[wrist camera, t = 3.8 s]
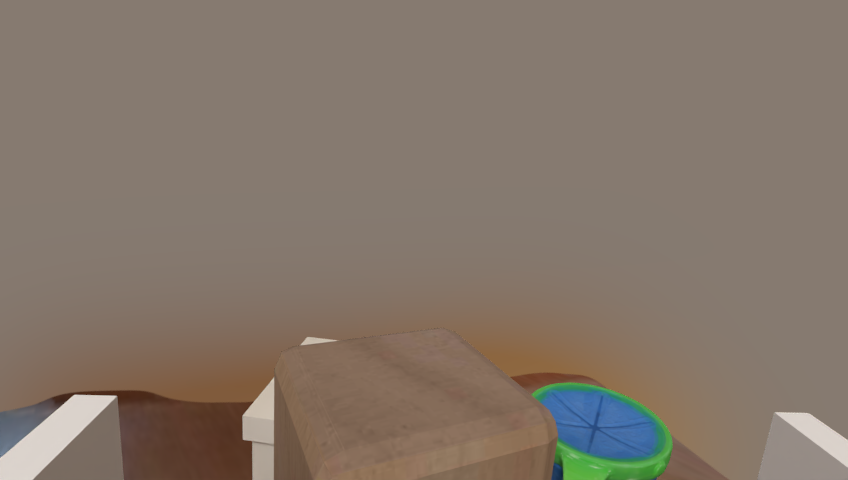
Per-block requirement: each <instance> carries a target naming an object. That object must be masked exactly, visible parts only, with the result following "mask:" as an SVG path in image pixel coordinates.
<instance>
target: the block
mask: <svg viewBox="0 0 848 480" xmlns="http://www.w3.org/2000/svg"><path fill="white" fill-rule="evenodd" d="M557 440H558V431H557V426H556V421H555V419H554V418H553V416H552V414H551V412H550V410H549V409H547V408H546V407H545V406H544V405H543V404H541V403H540V402H539V401H538V400H537V399H535V398H534V397H533V396H532V395H531V394H529V393H528V392H527V391H526V390H525V389H523V388H522V387H521V386H520V385H519V384H517V383H516V382H515V381H514V380H513V379H511V378H510V377H509V376H508V375H506V374H505V373H504V372H503V371H502V370H500V369H499V368H498V367H497V366H496V365H495V364H493V363H492V362H491V361H490V360H489V359H487V358H486V357H485V356H484V355H483V354H481V353H480V352H479V351H478V350H477V349H475V348H474V347H473V346H472V345H470V344H469V343H468V342H467V341H466V340H464V339H463V338H462V337H461V336H460V335H458V334H457V333H456V332H454V331H451V330H448V329H445V328H437V329H428V330H420V331H412V332H405V333H396V334H388V335H380V336H372V337H364V338H356V339H348V340H341V341H332V342H324V343H316V344H308V345H300V346H294V347H291V348H288V349H286V350H284V351H282V352H281V355H280V358H279V360H278V362H277V365H276V367H275V369H274V480H551V478H552V471H553V465H554V459H555V452H556V446H557Z"/></svg>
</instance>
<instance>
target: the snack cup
mask: <svg viewBox="0 0 848 480" xmlns="http://www.w3.org/2000/svg"><path fill="white" fill-rule="evenodd" d="M531 395H532V396H533V397H534V398H535V399H537V400H538V401H539V402H540V403H541V404H543V405H544V406H545V407H546V408H547V409H549V410H550V412H551V414H552V416H553V418H554V419H555V421H556V426H557V431H558V440H557V446H556V452H555V459H554V465H553V471H552V478H551V480H656V478H657V477H658V476H660V475H661V474H662V473H663V472H664V470H665V469H666V467H667V465H668V463H669V460H670V456H671V452H672V447H673V446H672V437H671V435H670V432H669V431H668V428H667V427H666V425H665V424H664V423H663V422H662V421H661V420H660V418H658V416H657V415H655V414H654V413H653V412H652V411H651V410H649V409H648V408H646V407H645V406H643V405H642V404H640V403H639V402H637V401H635V400H633V399H631V398H629V397H627V396H625V395H623V394H620V393H617V392H615V391H612V390H609V389H606V388H602V387H598V386H593V385H589V384H581V383H557V384H551V385H547V386H544V387H542V388H540V389H538V390H536V391H535V392H534V393H533V394H531Z"/></svg>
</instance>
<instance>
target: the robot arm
mask: <svg viewBox="0 0 848 480" xmlns="http://www.w3.org/2000/svg"><path fill="white" fill-rule="evenodd" d="M0 480H124V475H123V462H122V450H121V437H120V424H119V412H118V399H117V396H102V395H74V396H72V397H71V398H70V399H69V400H68V401H67V402H65V403H64V404H63V405H62V406H61V407H60V408H58V409H57V410H56V411H55V412H54V413H53V414H51V415H50V416H49V417H48V418H47V419H45V420H44V421H43V422H42V423H41V424H40V425H38V426H37V427H36V428H35V429H34V430H33V431H31V432H30V433H29V434H28V435H27V436H26V437H24V438H23V439H22V440H21V441H20V442H19V443H17V444H16V445H15V446H14V447H13V448H11V449H10V450H9V451H8V452H7V453H6V454H4V455H3V456H2V457H1V458H0ZM757 480H848V440H847V439H845V438H844V437H842V436H841V435H839V434H838V433H837V432H835V431H833V430H832V429H831V428H829V427H828V426H826V425H825V424H823V423H822V422H821V421H819V420H817V419H816V418H815V417H813V416H812V415H811V414H809V413H781V412H774V415H773V419H772V423H771V427H770V431H769V435H768V439H767V443H766V447H765V451H764V455H763V459H762V463H761V468H760V472H759V475H758V479H757Z"/></svg>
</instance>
